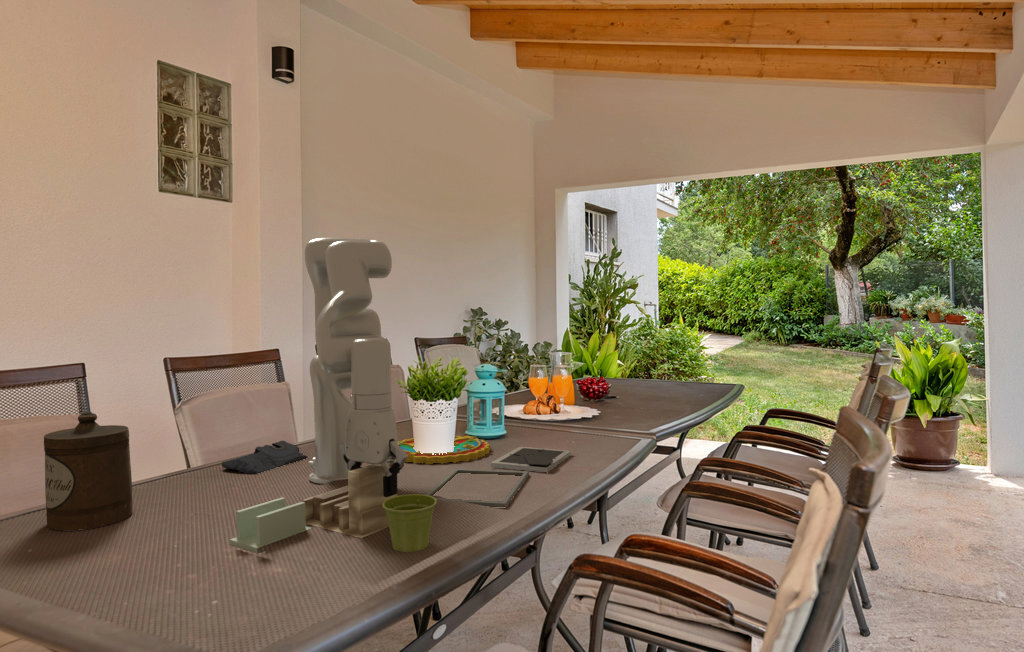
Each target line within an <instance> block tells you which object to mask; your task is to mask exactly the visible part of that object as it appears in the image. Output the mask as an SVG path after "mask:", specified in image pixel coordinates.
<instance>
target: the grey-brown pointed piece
mask: <svg viewBox="0 0 1024 652" xmlns="http://www.w3.org/2000/svg"><path fill="white" fill-rule="evenodd" d="M569 456H570V457H571V456H572V450H566V449H565V450H564V449H553V448H543V447H542V448H541V447H528V446H527V447H526V446H518V447H517V448H515V449H512V450H511V451H510V452H508V453H506V454H504V455H502V456H500V457H498V458H497V459H495V460H493V461H491V462H490V468H491V467H495V468H494V469H498V468H505V469H504V470H509V469H516V470H515V471H520V470H525V471H528V472H530V471H536V472H535V473H541V472H548V473H549V472H551V471H552V470H553V469H555V468H556V467H558V466H559V465H561V464H562V463H563V462H564V461H566V460H567V459H569V458H570V457H569ZM568 457H569V458H568ZM566 458H567V459H566ZM565 459H566V460H565ZM562 461H563V462H562ZM561 462H562V463H561ZM558 464H559V465H558ZM557 465H558V466H557ZM554 467H555V468H554ZM551 469H552V470H551ZM550 470H551V471H550Z"/></svg>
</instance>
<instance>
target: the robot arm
mask: <svg viewBox="0 0 1024 652" xmlns="http://www.w3.org/2000/svg"><path fill="white" fill-rule="evenodd" d="M304 247H305V248H304V263H305V267H306V269H307V273H308V275H309V278H310V281H311V284H312V288H313V293H314V328H315V331H314V332H315V333H314V335H315V336H314V337H315V345H316V352H317V355H314V356H313V357H312V359H311V361H310V363H309V375H310V382H311V387H312V388H311V389H312V393H313V395H312V397H313V413H314V416H313V417H314V455H315V456H313V458H312V459H311V460H309V461H308V462H307V466H308V467H312V469H313V470H312V472H311V473H309V475H308V479H309V481H310V482H312V483H314V484H319V485H326V484H330V483H333V482H336V481H343V480H347V481H348V471H351V470H355V469H358V468H362V467H363V466H362V464H363V463H364V464H368V465H372V464H375V465H379V464H381V466H382V468H383V470H384V472H385V474H386V476H383V496H384V497H390V496H392V495H395V494H397V495H398V474H400V473H401V470H402V469H403V468H404V466H405V464H406V463H405V461H406V459H407V457H408V455H407V453H406V452H405V451H404V450H403V449H402V448H401V447H400V446H399V445H398V441H399V437H398V430H397V420H396V415H395V411H394V409H393V406H392V404H393V403H392V402H393V401H392V400H393V399H392V396H393V395H392V394H393V393H392V356H391V355H392V353H391V352H392V350H391V349H392V348H391V343H390V341H389V340H388V339H387V338H385V337H383V336H382V327H381V321H380V317H379V314H378V313H377V312H376V311H375V310H374V309H372V308H368V307H369V306H370V304H371V303H372V301H373V293H372V289H371V283H370V279H385V278H388V276H389V275H390V273H391V272H392V267H393V266H392V265H393V262H392V261H393V260H392V255H391V252H390V249H389V248H388V246H387V245H386V244H385V242H383V241H379V240H376V239H369V238H368V239H367V238H345V237H344V238H343V237H320V238H319V237H318V238H314V239H311V240H310V241H308V242H307V243H306V244H305V246H304ZM346 390H351V395H350V398H348V397H347V396H346V395H345V394H344V393H343V391H346ZM396 458H397V459H396ZM388 463H390V465H391V467H389V465H388Z"/></svg>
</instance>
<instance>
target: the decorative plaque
mask: <svg viewBox="0 0 1024 652" xmlns="http://www.w3.org/2000/svg"><path fill="white" fill-rule="evenodd" d="M454 436H455V441H454V446H455V447H454V451H453V452H447V454H446V453H443V455H442V453H440V455H439V453H434V455H432V453H423V454H421V453H420V451H418V452H416V451H415V450H414V449H413V447H414V438H415V437H412V438H406V439H403V440H398V445H399V446H400V447H401V448H402V449H403V450H404V451H405V452H406V453H407V455H408V457H407V459H406V461H405V462H413V464H414V463H422V464H423V463H425V465H433V463H441V464H440V465H444V464H443V463H446V462H453V463H452V464H457V463H460V462H459V461H467V462H470V461H471V460H470V459H473V460H479V458H484V457H483V456H486V455H490V452H491V444H489V441H485V439H479V438H478V437H477V436H470V435H464V436H461V435H454ZM435 454H436V455H435ZM485 454H486V455H485ZM478 457H479V458H478ZM396 459H397V458H396ZM396 459H395V460H396ZM456 462H457V463H456ZM446 464H447V463H446Z"/></svg>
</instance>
